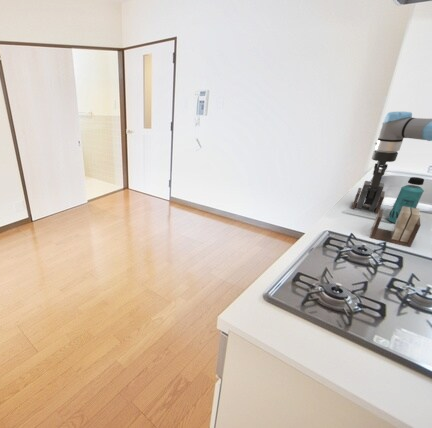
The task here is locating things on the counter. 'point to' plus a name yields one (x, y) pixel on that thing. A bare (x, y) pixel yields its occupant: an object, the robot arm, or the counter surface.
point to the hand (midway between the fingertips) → (368, 201)
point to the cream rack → (399, 227)
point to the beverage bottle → (407, 197)
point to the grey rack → (376, 202)
